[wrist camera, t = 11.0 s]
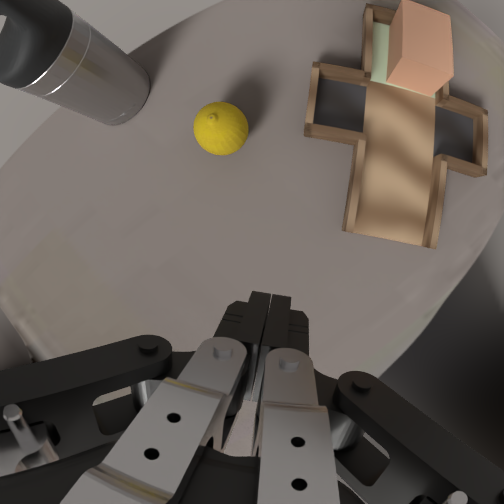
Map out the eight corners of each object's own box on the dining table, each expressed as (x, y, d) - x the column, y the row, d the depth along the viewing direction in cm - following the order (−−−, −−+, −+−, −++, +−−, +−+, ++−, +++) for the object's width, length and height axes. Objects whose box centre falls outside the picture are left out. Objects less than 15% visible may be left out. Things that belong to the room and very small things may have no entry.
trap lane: (464, 255, 33) (476, 258, 30) (290, 221, 35) (290, 221, 32) (471, 50, 29) (480, 41, 26) (319, 7, 32) (320, -5, 29)
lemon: (257, 119, 35) (246, 94, 27) (247, 164, 35) (233, 150, 27) (212, 113, 35) (190, 89, 27) (201, 156, 36) (177, 142, 28)
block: (430, 96, 31) (453, 75, 24) (385, 82, 31) (401, 56, 24) (431, 41, 29) (449, 15, 23) (389, 27, 30) (402, -2, 23)
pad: (434, 99, 31) (435, 98, 31) (366, 81, 32) (367, 79, 32) (431, 40, 30) (432, 38, 29) (368, 22, 31) (369, 20, 30)
